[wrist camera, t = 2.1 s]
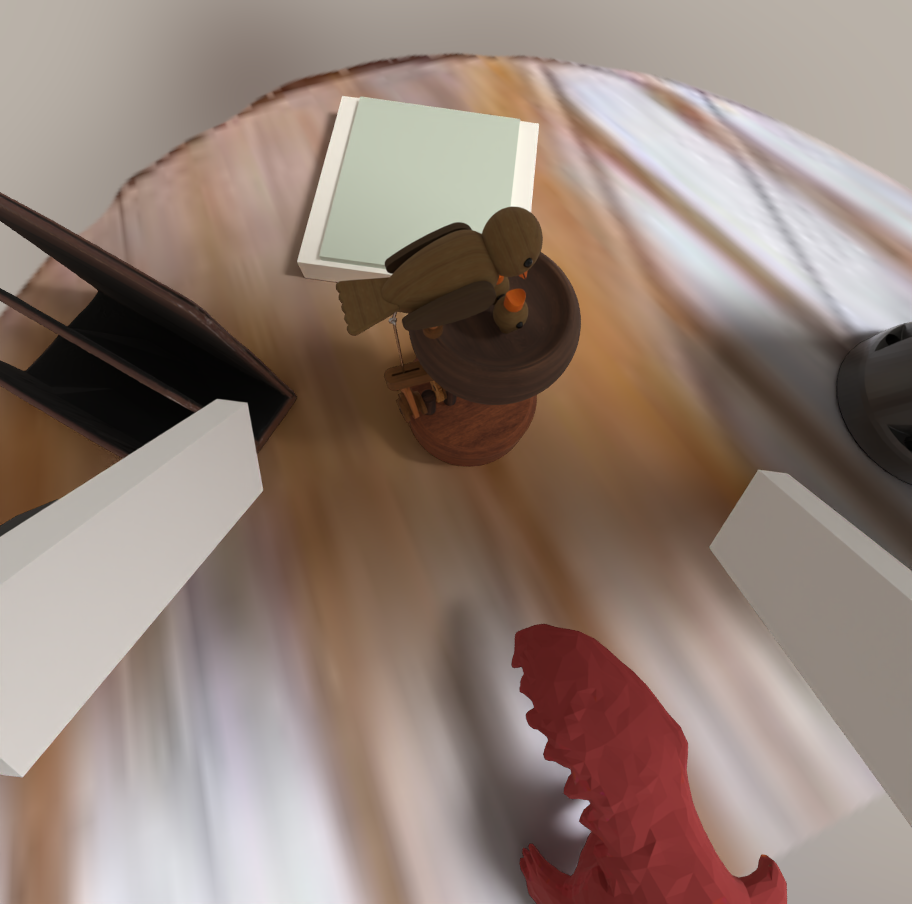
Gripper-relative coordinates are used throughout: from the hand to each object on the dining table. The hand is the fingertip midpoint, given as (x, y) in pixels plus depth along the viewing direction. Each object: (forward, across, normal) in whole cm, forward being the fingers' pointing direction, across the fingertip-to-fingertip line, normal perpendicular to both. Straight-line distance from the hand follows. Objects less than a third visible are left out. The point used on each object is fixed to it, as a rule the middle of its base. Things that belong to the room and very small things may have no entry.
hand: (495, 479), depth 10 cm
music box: (+22, 0, -7) cm, 23 cm away
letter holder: (+20, -26, -9) cm, 34 cm away
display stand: (+36, -7, +7) cm, 37 cm away
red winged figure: (+2, +12, -28) cm, 30 cm away
